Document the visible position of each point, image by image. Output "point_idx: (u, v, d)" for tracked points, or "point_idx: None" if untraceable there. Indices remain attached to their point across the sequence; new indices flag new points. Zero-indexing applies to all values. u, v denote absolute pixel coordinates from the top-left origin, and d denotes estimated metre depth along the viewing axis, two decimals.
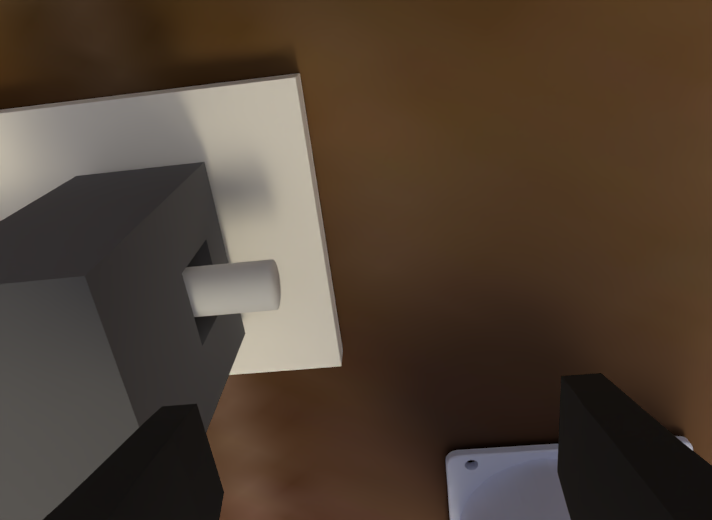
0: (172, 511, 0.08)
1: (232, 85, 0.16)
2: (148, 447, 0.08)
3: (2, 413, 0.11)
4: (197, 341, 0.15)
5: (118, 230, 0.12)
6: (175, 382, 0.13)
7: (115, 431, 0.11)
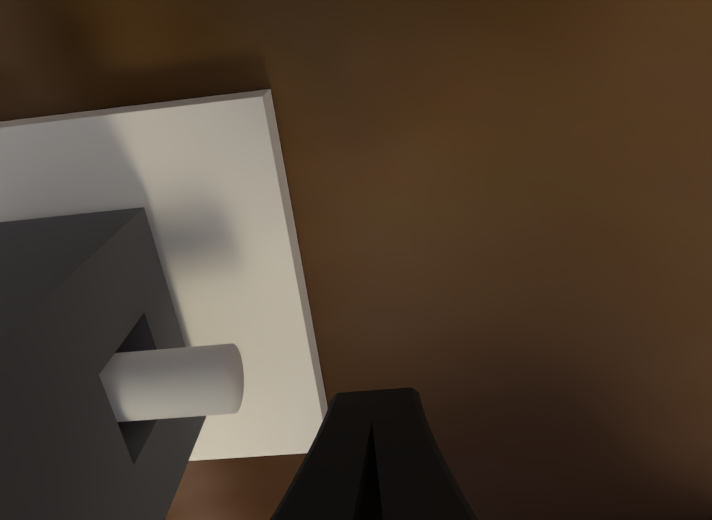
0: (375, 499, 0.08)
1: (178, 106, 0.12)
2: (354, 432, 0.08)
3: None
4: (125, 462, 0.11)
5: None
6: None
7: None
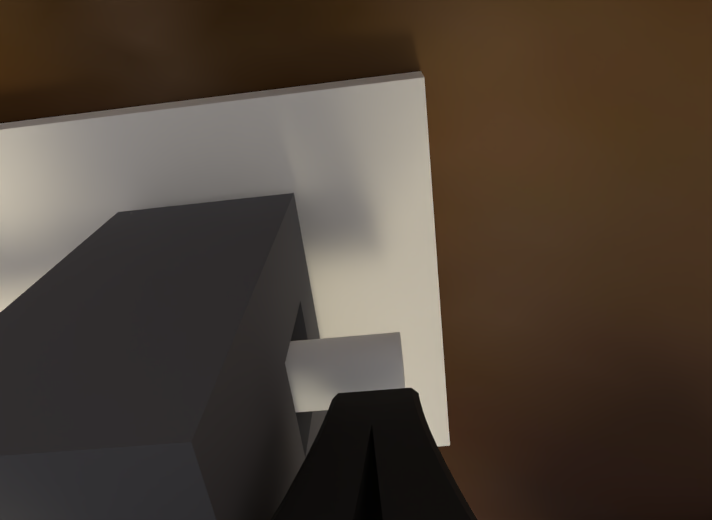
0: (375, 499, 0.08)
1: (335, 88, 0.12)
2: (354, 432, 0.08)
3: None
4: (301, 454, 0.10)
5: (215, 323, 0.08)
6: None
7: None
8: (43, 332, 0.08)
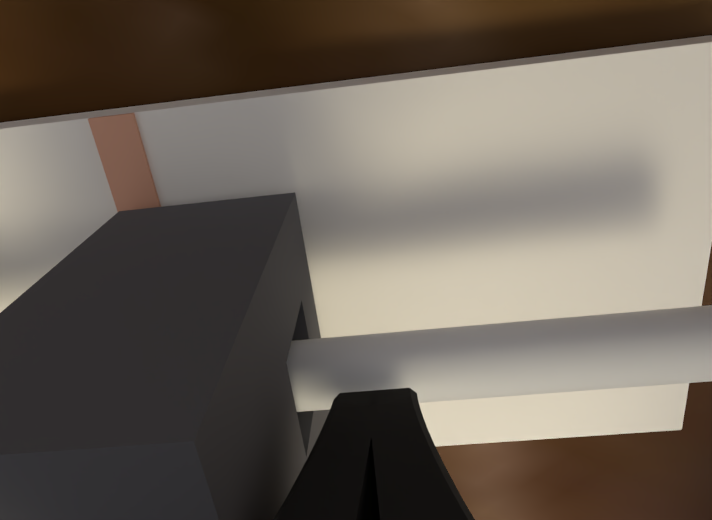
0: (377, 498, 0.08)
1: (646, 50, 0.11)
2: (356, 432, 0.08)
3: None
4: (302, 454, 0.10)
5: (217, 323, 0.08)
6: None
7: None
8: (45, 331, 0.08)
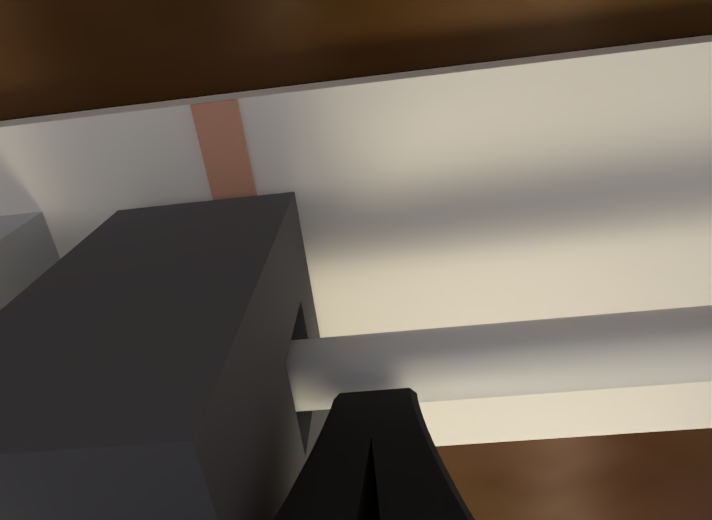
0: (377, 499, 0.08)
1: None
2: (356, 432, 0.08)
3: None
4: (301, 453, 0.10)
5: (216, 322, 0.07)
6: None
7: None
8: (43, 330, 0.08)
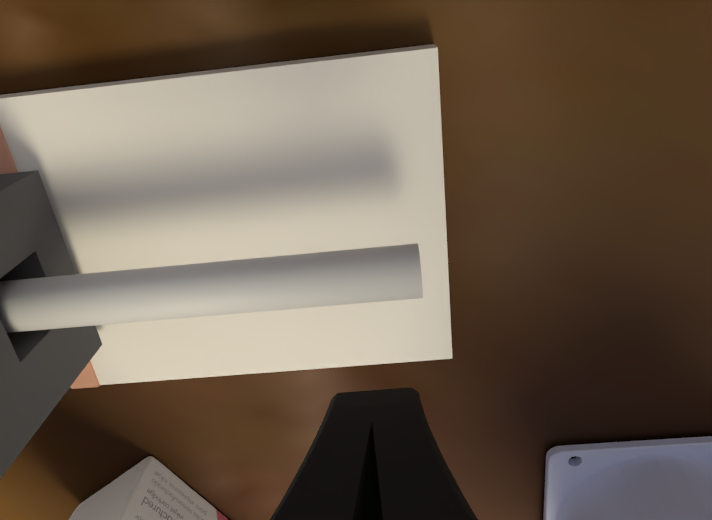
0: (375, 499, 0.08)
1: (367, 56, 0.15)
2: (354, 433, 0.08)
3: None
4: (11, 358, 0.14)
5: None
6: None
7: None
8: None
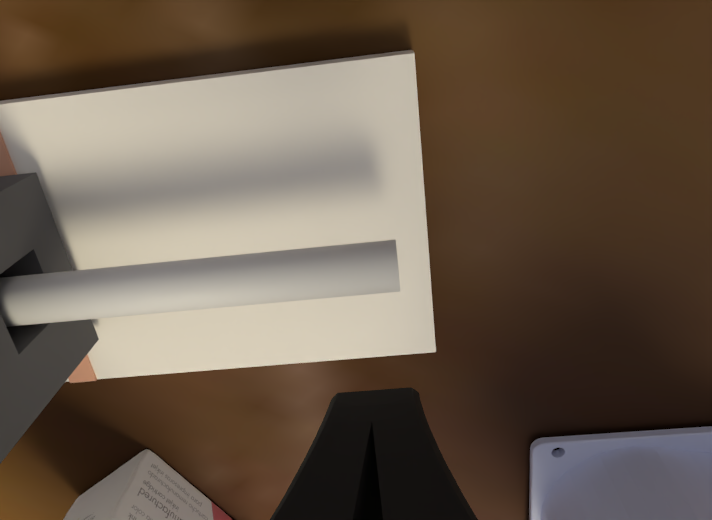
0: (374, 499, 0.08)
1: (348, 61, 0.16)
2: (354, 433, 0.08)
3: None
4: (10, 350, 0.15)
5: None
6: None
7: None
8: None
